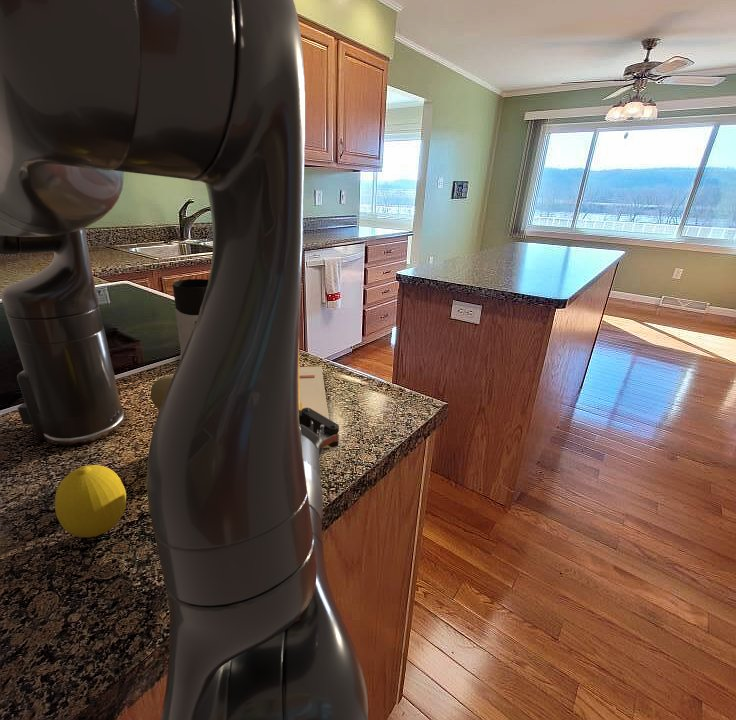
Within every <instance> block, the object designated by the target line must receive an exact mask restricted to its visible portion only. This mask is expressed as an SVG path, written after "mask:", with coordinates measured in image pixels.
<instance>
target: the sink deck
mask: <svg viewBox="0 0 736 720" xmlns="http://www.w3.org/2000/svg"><path fill="white" fill-rule="evenodd" d="M299 381H300V403H303V408H311V409H312V410H314V411H316V412H317V413H319V414H321V415H323V416H324V417H326V418H328V419H329V420H330V417H329V411H328V401H327V398H326V397H327V395H326V390H325V389H326V387H325V383H324V382H325V381H324V374H323V367H322V366H321V365H320V366H299ZM312 423H313V422H312ZM331 448H332V447H330V446H328V445H327V446H325V447H323V449H331Z"/></svg>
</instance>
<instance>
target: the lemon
mask: <svg viewBox="0 0 736 720" xmlns="http://www.w3.org/2000/svg"><path fill="white" fill-rule="evenodd" d="M126 507H127V491H126V488H125V486H124V483H123V482H122V480H121V478H120V477H119V476H118V473H116V472H115V471H114V470H112V469H111V468H109V467H106V466H103V465H99V464H90V465H83V466H79V467H78V468H76V469H74V470H72V471H70V472H69V473H68V474H67V475H66V476H65V477H64V478H63V479H62V480H61V482H60V483H59V484H58V487H57V488H56V491H55V496H54V510H55V511H54V512H55V515H56V518H57V521H58V522H59V524H60V525H61V527H62V529H64V530H65V531H66V532H67V533H69V534H71V535H72V536H74V537H79V538H94V537H97V536H100V535H104V534H105V533H107V532H109V531H110V530H111V529H113V528H114V527H115V526H117V524H118V523H119V521H121V519H122V517H123V515H124V513H125V510H126Z"/></svg>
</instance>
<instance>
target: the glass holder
mask: <svg viewBox="0 0 736 720" xmlns="http://www.w3.org/2000/svg"><path fill="white" fill-rule="evenodd" d="M208 280H209V279H205V278H189V279H179V280H176V281H174V282H172V290H173V291H172V292H173V299H174V305H175V307H174V312H175V313H174V314H175V320H176V326H177V333H178V341H179V347H180V355H179V361H180V360H181V357H182V355H183V353H184V351H185V348H186V346H187V343H188V341H189V338H190V336H191V333H192V331H193V328H194V326H195V323H196V321H197V318H198V315H199V312H200V309H201V305H202V302H203V299H204V295H205V292H206V289H207V285H208Z"/></svg>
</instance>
